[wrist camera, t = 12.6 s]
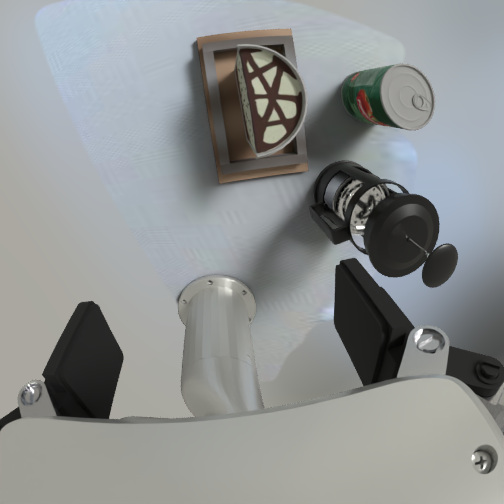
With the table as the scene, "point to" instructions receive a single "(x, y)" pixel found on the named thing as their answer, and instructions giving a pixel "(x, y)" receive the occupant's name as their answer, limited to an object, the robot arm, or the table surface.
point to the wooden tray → (229, 110)
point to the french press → (384, 224)
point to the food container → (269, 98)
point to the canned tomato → (389, 97)
